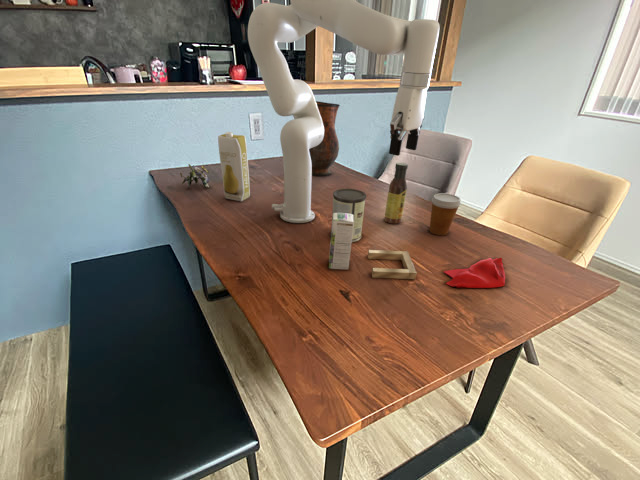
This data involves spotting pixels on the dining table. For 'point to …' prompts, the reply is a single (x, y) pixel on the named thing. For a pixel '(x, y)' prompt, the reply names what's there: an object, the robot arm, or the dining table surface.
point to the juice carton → (234, 166)
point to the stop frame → (404, 273)
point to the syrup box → (341, 240)
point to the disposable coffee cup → (443, 212)
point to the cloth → (479, 275)
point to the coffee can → (350, 207)
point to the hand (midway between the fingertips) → (402, 151)
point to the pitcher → (325, 141)
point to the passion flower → (197, 176)
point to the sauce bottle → (396, 195)
